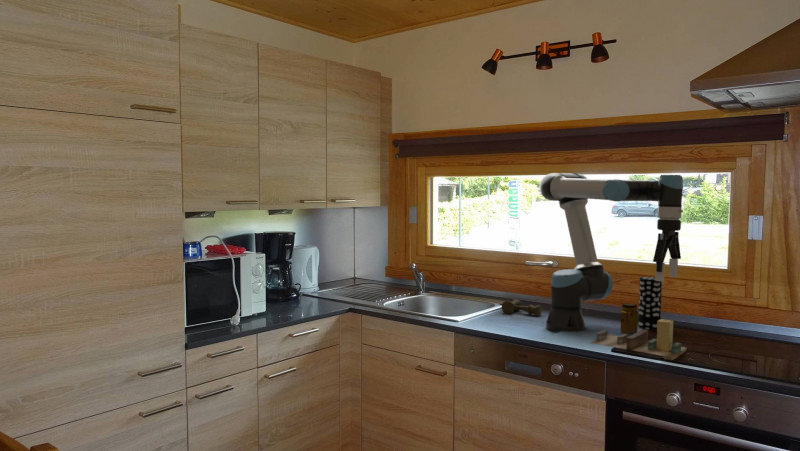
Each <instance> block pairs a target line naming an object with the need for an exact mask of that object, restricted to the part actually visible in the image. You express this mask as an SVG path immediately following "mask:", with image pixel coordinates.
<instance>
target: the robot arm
mask: <svg viewBox="0 0 800 451" xmlns="http://www.w3.org/2000/svg"><path fill="white" fill-rule="evenodd" d="M538 188H539V192H540V194H541V195H542V197H543V198H545V199H546V200H549V201H552V202H553V201H554V202H558V204H559V208H560V209H562V210H563V211H564V215H565V219H566V223H567V224H566V225H567V227H568V233H569V238H570V242H571V246H572V251H573V252H572V253H573V256H574V260H575V267H574V268H569V269H559V270H557V271H554V272H553V273H552V275H551V280H550V286H551V287H550V289H551V290H550V311H549V313H548V316H547V319H546V323H545V329H547V331H550V332H555V333H560V332H582V331H584V330H586V322H585V319H584V315H583V313H582V302H589V301H599V300H603V299H607V297H608V296H610V295H611V292H612V291H613V286H614V285H613V284H614V283H613V277H612V276H611V274H610V273H609V272H608V271H605V269H604V266H603V264H602V263H601V262H599V261H598V257H597V252H596V248H595V243H594V237H593V233H592V230H591V225H590V220H589V216H588V213H587V208H586V205H587V204H588V202H589V200H602V201H604V200H605V201H612V202H658V203H657V204H658V205H657V218H659V219H657V221H656V223H657V224H656V228H657V230H659V231H662V232H661V233H660V232H659V233H658V234H657V241H656V246H655V250H654V255H653V258H652V262H653V263H655V275H654V277H655V281H661V282H662V283H663V282H665V268H666V267H665V266H666V263H665V258H666V255H667V254H668V252H669V257H670V258H669V261H668V262H669V263H668V277H671V278H678V266H679V265H678V263H679V260H681V258H682V256H681V255H682V254H681V249H680V240H679V236H680V235H679V231H681V229H682V228H681V227H682V220H681V218H682V214H683V212H684V211H683V209H682V205H683V203H682V201H683V193H684V192H683V190H684V179H683V176H682V175H681V174H660V176H659V179H658V180H655V179H654V180H652V179H650V180H649V179H605V178H602V179H601V178H600V179H599V178H587V177H586V176H585V175H583V174H581V173H575V172H570V173H567V172H562V173H561V172H552V173H548V174H546V175H544V176H542V179H541V180H540V183H539V187H538Z"/></svg>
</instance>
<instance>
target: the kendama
mask: <svg viewBox="0 0 800 451" xmlns="http://www.w3.org/2000/svg"><path fill="white" fill-rule="evenodd" d="M499 306H501V310H502V312H503V314H506V315H511V314H513V312H519V311H523V312H525V313H527V314H529V315H535V316H536V317H540V316H541V314H542V313H543V312H542V305H539V304H538V305H533V304H529V305H522V302H521V300H519V299H516V298H514V299H512V300H511V301H510V300H505V301H503V302H502V303H499Z"/></svg>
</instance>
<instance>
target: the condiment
mask: <svg viewBox="0 0 800 451" xmlns="http://www.w3.org/2000/svg"><path fill="white" fill-rule="evenodd" d="M637 307H638V305H637V304H635V303H632V302H631V303H629V302H625V303H622V305H621V308H622V310H621V311H620V334H621V333H622V334H628V335H633V334H635V333H637V332H638V317H639V311H638V308H637Z"/></svg>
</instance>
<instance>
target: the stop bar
mask: <svg viewBox="0 0 800 451" xmlns="http://www.w3.org/2000/svg"><path fill="white" fill-rule="evenodd" d="M673 338H674V320H671V319H662V318H661V319H660V320H658V321H657V330H656V339H657V347H656V350H660V351H666V352H670V351H671V346H672V345H674V343H673V341H674V340H673Z"/></svg>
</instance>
